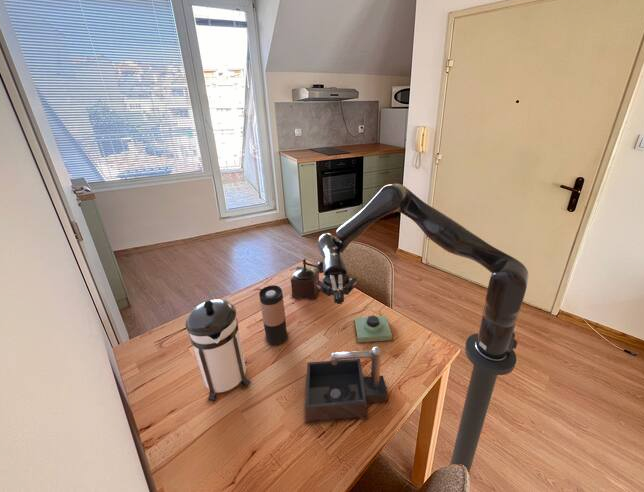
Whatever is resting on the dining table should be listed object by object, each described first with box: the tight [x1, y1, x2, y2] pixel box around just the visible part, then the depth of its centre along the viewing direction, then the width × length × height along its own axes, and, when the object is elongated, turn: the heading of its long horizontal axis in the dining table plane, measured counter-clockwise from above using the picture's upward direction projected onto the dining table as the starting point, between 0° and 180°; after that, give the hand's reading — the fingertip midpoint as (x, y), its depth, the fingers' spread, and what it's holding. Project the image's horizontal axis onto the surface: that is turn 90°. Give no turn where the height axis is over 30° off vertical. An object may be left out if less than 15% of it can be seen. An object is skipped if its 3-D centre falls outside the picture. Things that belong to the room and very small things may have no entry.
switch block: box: [354, 315, 393, 343], centre depth 107 cm, size 12×10×4 cm
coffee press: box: [185, 298, 250, 402], centre depth 85 cm, size 17×16×30 cm
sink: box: [305, 358, 388, 423], centre depth 84 cm, size 22×14×6 cm, turn 94°
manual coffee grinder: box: [290, 258, 324, 300], centre depth 126 cm, size 16×11×18 cm
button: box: [367, 315, 379, 327], centre depth 106 cm, size 4×4×2 cm
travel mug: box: [258, 285, 288, 346], centre depth 102 cm, size 8×8×20 cm
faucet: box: [330, 346, 382, 388], centre depth 81 cm, size 14×3×14 cm, turn 94°
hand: (339, 301), depth 82 cm, fingers closed
